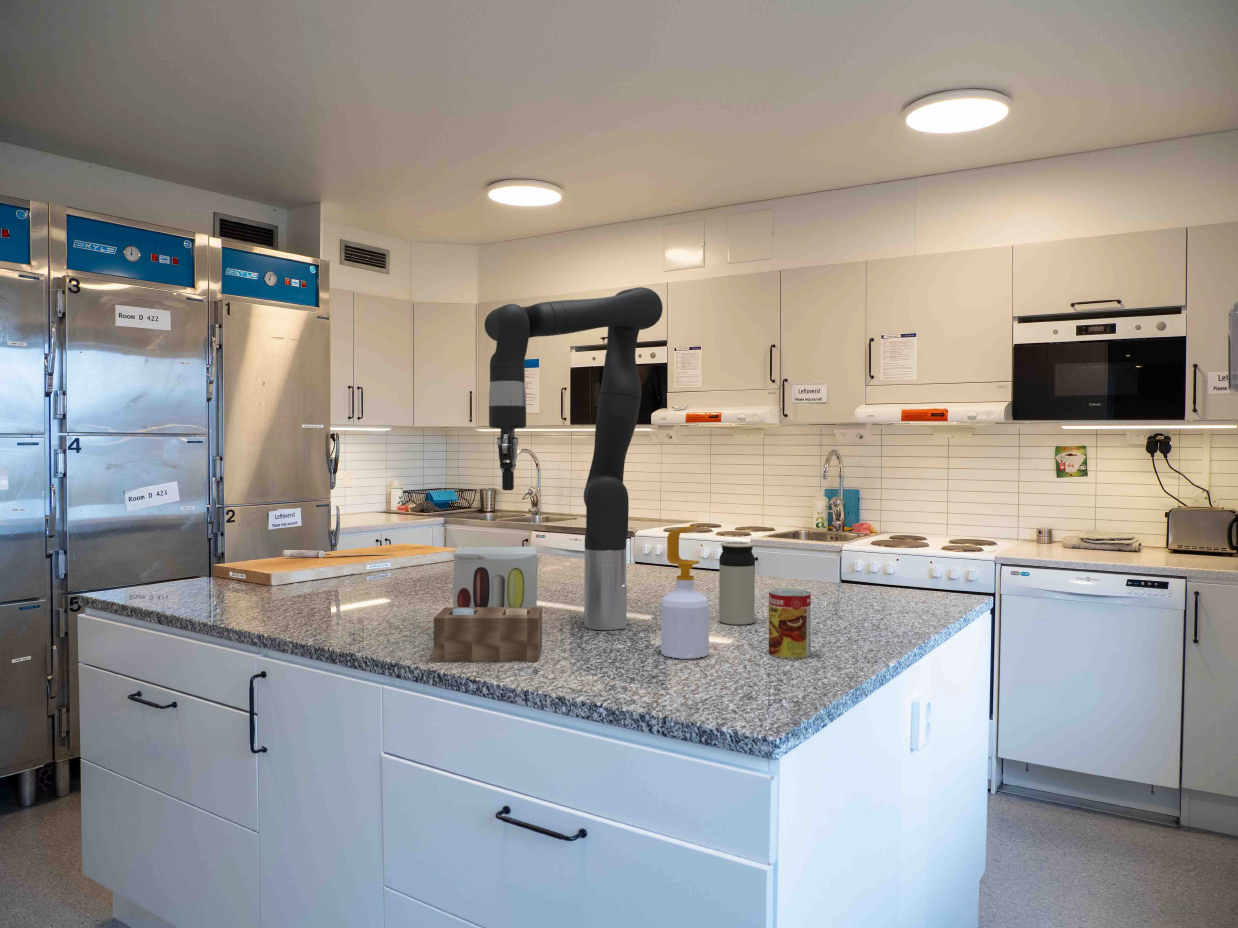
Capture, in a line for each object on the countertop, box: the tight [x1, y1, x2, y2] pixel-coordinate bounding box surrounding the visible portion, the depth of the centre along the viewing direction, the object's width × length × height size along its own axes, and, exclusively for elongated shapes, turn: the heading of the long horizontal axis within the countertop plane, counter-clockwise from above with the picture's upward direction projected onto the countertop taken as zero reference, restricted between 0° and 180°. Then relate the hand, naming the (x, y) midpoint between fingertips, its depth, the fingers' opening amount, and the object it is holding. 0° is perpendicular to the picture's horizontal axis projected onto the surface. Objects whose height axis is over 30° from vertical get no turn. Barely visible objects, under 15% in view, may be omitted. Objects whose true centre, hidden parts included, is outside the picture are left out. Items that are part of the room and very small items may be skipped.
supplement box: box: [452, 545, 538, 607], centre depth 177 cm, size 17×13×18 cm
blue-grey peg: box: [453, 608, 474, 615], centre depth 159 cm, size 4×4×8 cm
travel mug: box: [718, 541, 756, 626], centre depth 191 cm, size 8×8×18 cm
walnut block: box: [433, 606, 543, 663], centre depth 159 cm, size 19×11×8 cm, turn 91°
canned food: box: [768, 587, 812, 659], centre depth 160 cm, size 8×8×12 cm
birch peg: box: [506, 608, 527, 615], centre depth 159 cm, size 4×4×8 cm
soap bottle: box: [660, 525, 710, 660], centre depth 159 cm, size 9×9×25 cm
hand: (508, 490), depth 170 cm, fingers closed
